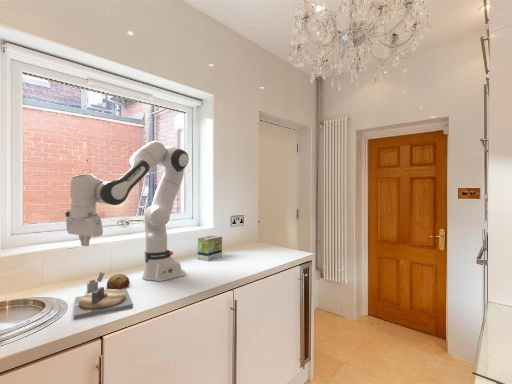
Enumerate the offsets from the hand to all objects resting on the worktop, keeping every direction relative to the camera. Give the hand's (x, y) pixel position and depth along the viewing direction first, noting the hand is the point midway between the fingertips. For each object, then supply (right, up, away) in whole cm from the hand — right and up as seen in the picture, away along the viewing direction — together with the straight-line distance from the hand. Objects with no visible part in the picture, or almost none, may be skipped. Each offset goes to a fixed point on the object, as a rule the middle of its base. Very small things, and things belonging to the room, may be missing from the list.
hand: (85, 245), depth 117 cm
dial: (+8, -23, -1) cm, 24 cm away
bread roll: (+4, -24, +21) cm, 32 cm away
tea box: (+39, -24, +78) cm, 91 cm away
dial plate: (+8, -24, -1) cm, 25 cm away
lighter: (-4, -24, +15) cm, 29 cm away
